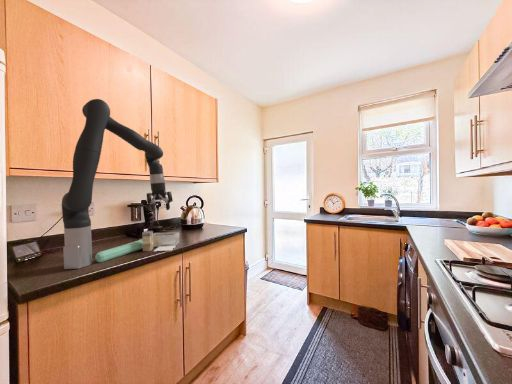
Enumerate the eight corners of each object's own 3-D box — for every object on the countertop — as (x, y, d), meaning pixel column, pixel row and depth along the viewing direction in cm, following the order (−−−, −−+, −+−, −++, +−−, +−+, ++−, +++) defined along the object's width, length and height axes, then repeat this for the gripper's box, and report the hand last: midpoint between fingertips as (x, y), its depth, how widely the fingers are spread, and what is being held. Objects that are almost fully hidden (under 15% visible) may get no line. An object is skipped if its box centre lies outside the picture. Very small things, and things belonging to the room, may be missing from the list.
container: (98, 250, 99) (144, 237, 122) (91, 254, 101) (137, 240, 125) (102, 262, 99) (147, 247, 122) (94, 266, 101) (140, 250, 124)
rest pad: (170, 251, 116) (170, 250, 116) (153, 252, 115) (153, 250, 115) (175, 246, 125) (175, 245, 125) (159, 247, 124) (159, 246, 124)
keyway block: (174, 246, 126) (174, 235, 126) (148, 247, 125) (147, 236, 125) (179, 241, 136) (179, 232, 136) (154, 242, 135) (154, 233, 135)
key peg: (150, 250, 118) (149, 232, 117) (142, 251, 117) (142, 232, 117) (153, 248, 122) (152, 230, 121) (145, 249, 121) (145, 231, 121)
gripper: (141, 183, 122) (145, 212, 123) (165, 181, 120) (169, 210, 122) (149, 182, 129) (153, 209, 131) (172, 181, 127) (175, 208, 129)
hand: (161, 210), depth 126 cm, fingers open, 8 cm apart
